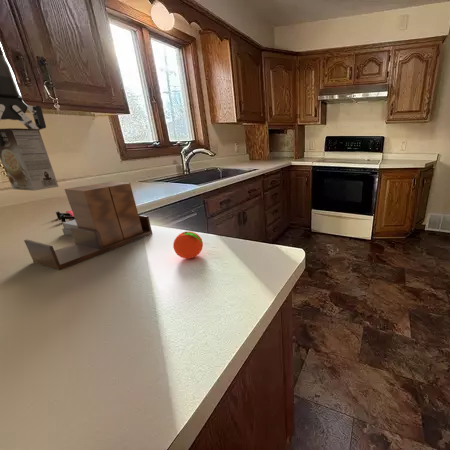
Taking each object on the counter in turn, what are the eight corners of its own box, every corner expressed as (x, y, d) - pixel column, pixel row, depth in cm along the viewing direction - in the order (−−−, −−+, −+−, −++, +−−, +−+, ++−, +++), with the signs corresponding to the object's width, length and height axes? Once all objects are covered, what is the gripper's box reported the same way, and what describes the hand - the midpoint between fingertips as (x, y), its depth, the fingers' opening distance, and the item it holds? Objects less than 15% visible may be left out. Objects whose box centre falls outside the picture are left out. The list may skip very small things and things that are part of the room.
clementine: (213, 253, 65) (209, 228, 63) (195, 265, 59) (189, 238, 57) (190, 249, 68) (185, 226, 66) (169, 261, 62) (164, 235, 60)
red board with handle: (70, 229, 86) (119, 219, 97) (67, 221, 85) (118, 212, 96) (55, 216, 104) (98, 208, 115) (52, 209, 103) (96, 202, 114)
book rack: (58, 270, 59) (30, 201, 53) (33, 262, 64) (4, 197, 58) (152, 233, 81) (139, 181, 75) (128, 229, 85) (114, 180, 79)
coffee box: (11, 189, 69) (-15, 128, 64) (39, 185, 75) (17, 129, 69) (33, 190, 67) (8, 127, 61) (60, 186, 72) (40, 128, 67)
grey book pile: (83, 238, 79) (78, 226, 77) (63, 234, 83) (59, 223, 81) (109, 230, 85) (106, 219, 84) (90, 226, 90) (87, 216, 88)
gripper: (24, 82, 69) (46, 144, 74) (-61, 71, 56) (-27, 146, 62) (38, 79, 66) (60, 144, 72) (-48, 67, 53) (-14, 146, 59)
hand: (19, 145), depth 67 cm, fingers closed on coffee box, 6 cm apart
